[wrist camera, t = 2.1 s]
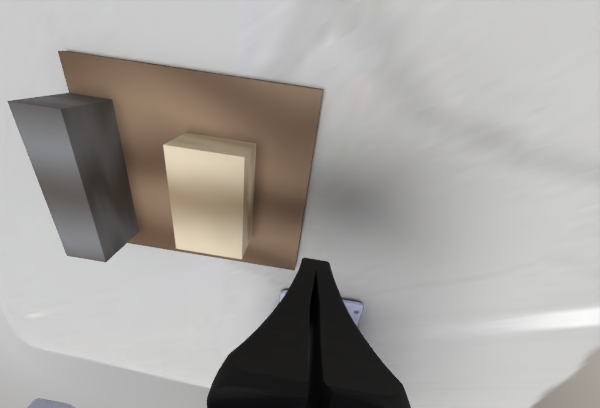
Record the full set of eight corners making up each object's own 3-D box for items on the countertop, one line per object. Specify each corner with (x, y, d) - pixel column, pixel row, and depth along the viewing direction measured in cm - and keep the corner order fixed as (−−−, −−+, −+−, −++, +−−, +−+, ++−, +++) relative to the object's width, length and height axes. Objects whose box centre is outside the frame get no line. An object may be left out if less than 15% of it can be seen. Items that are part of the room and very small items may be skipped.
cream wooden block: (251, 236, 23) (241, 259, 20) (193, 226, 23) (176, 248, 20) (256, 143, 19) (244, 157, 16) (186, 132, 19) (162, 144, 16)
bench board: (295, 265, 24) (288, 306, 20) (114, 236, 25) (72, 270, 21) (323, 89, 17) (321, 99, 13) (66, 51, 17) (-13, 49, 13)
